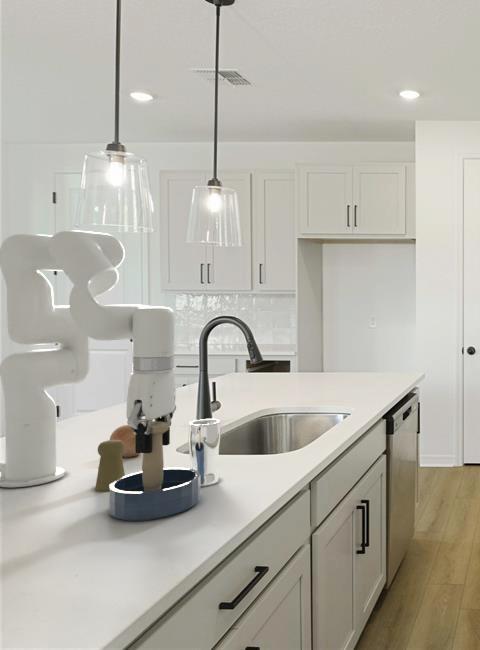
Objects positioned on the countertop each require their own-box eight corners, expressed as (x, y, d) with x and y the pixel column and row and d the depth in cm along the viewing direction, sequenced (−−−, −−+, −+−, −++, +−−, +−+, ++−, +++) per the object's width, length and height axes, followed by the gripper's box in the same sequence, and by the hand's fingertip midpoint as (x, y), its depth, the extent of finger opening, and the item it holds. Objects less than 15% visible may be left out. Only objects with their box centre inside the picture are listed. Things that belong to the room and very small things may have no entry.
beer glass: (206, 488, 134) (206, 426, 134) (181, 485, 136) (181, 424, 135) (226, 479, 141) (227, 419, 141) (202, 476, 143) (203, 418, 142)
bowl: (89, 521, 114) (89, 492, 114) (142, 492, 131) (142, 467, 131) (172, 523, 114) (172, 493, 114) (214, 494, 131) (214, 468, 131)
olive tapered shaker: (132, 484, 136) (132, 439, 136) (107, 492, 130) (107, 445, 130) (114, 481, 138) (114, 436, 138) (89, 488, 132) (89, 442, 132)
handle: (154, 487, 125) (155, 420, 124) (173, 492, 122) (173, 423, 121) (131, 494, 120) (132, 424, 120) (150, 499, 117) (151, 428, 117)
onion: (145, 463, 162) (164, 431, 164) (120, 464, 153) (140, 429, 154) (119, 449, 163) (138, 417, 165) (93, 449, 154) (113, 415, 156)
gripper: (160, 359, 129) (159, 438, 129) (107, 369, 112) (107, 460, 112) (193, 360, 129) (192, 438, 129) (145, 370, 112) (145, 461, 112)
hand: (152, 447), depth 121 cm, fingers closed on handle, 5 cm apart
